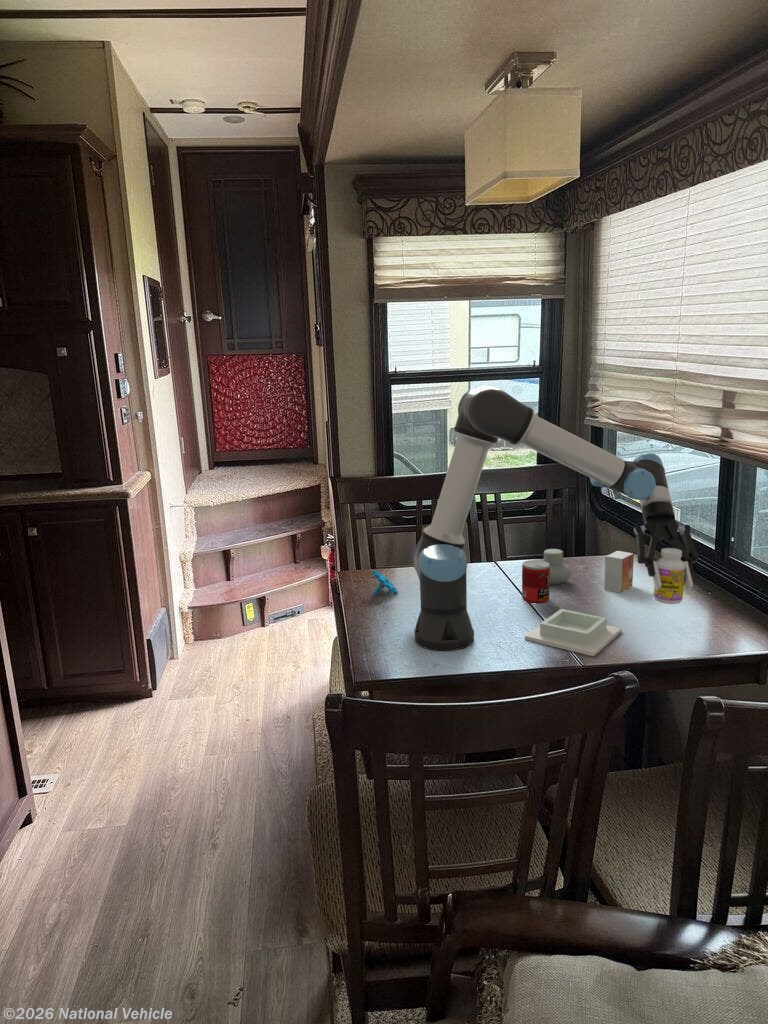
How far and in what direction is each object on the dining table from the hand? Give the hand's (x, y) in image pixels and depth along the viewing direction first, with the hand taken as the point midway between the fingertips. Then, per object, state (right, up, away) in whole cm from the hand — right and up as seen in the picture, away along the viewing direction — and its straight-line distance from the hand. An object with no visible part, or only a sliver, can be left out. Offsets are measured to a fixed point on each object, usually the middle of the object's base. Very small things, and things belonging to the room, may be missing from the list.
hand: (674, 587), depth 166 cm
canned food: (-26, -8, +36) cm, 45 cm away
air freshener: (-17, -4, +51) cm, 54 cm away
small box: (+1, -5, +43) cm, 44 cm away
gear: (-69, -7, +46) cm, 84 cm away
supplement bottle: (0, -4, +4) cm, 6 cm away
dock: (-22, -13, +9) cm, 27 cm away
